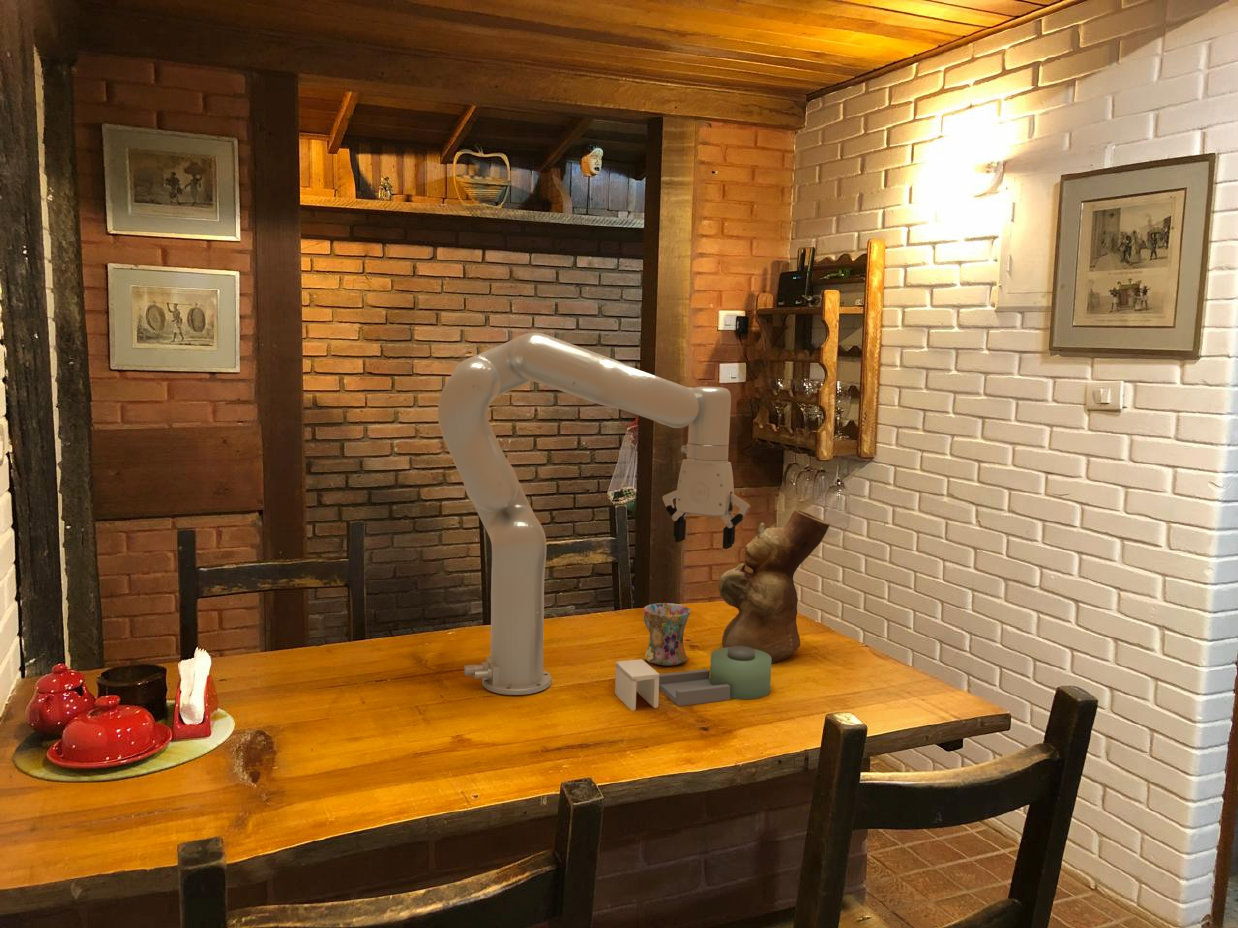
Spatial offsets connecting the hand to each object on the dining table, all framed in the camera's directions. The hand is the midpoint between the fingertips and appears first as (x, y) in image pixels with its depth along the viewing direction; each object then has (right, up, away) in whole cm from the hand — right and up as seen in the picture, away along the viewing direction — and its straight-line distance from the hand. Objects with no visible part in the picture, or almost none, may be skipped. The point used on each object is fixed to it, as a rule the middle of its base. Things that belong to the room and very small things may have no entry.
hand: (703, 544), depth 172 cm
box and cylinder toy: (+2, -26, -5) cm, 27 cm away
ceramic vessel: (+15, -24, +17) cm, 33 cm away
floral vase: (-7, -24, +12) cm, 28 cm away
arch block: (-13, -27, -10) cm, 31 cm away
